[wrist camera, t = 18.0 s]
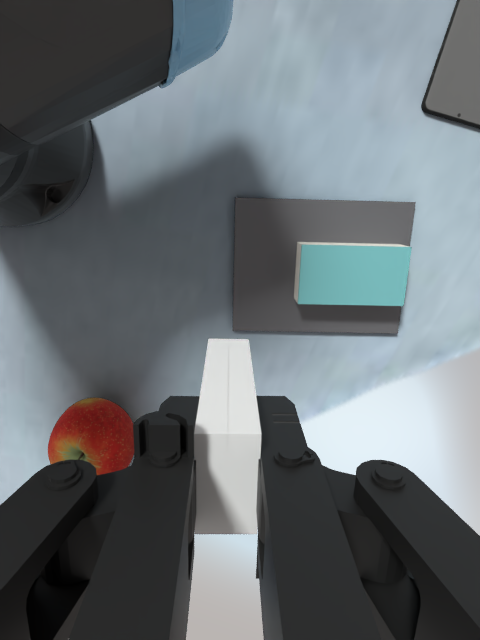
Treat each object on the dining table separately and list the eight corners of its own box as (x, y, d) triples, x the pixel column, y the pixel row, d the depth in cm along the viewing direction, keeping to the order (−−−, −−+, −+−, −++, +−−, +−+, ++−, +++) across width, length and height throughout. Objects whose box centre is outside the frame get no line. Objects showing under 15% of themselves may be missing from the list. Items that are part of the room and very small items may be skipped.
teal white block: (298, 304, 39) (403, 306, 39) (301, 244, 37) (411, 247, 38) (293, 297, 42) (392, 299, 42) (297, 241, 40) (399, 244, 40)
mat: (232, 328, 43) (232, 330, 42) (235, 197, 39) (235, 197, 39) (395, 331, 43) (397, 333, 43) (412, 202, 40) (415, 202, 39)
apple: (123, 462, 47) (96, 529, 37) (57, 429, 46) (11, 490, 36) (157, 406, 45) (138, 462, 36) (89, 371, 44) (50, 419, 34)
